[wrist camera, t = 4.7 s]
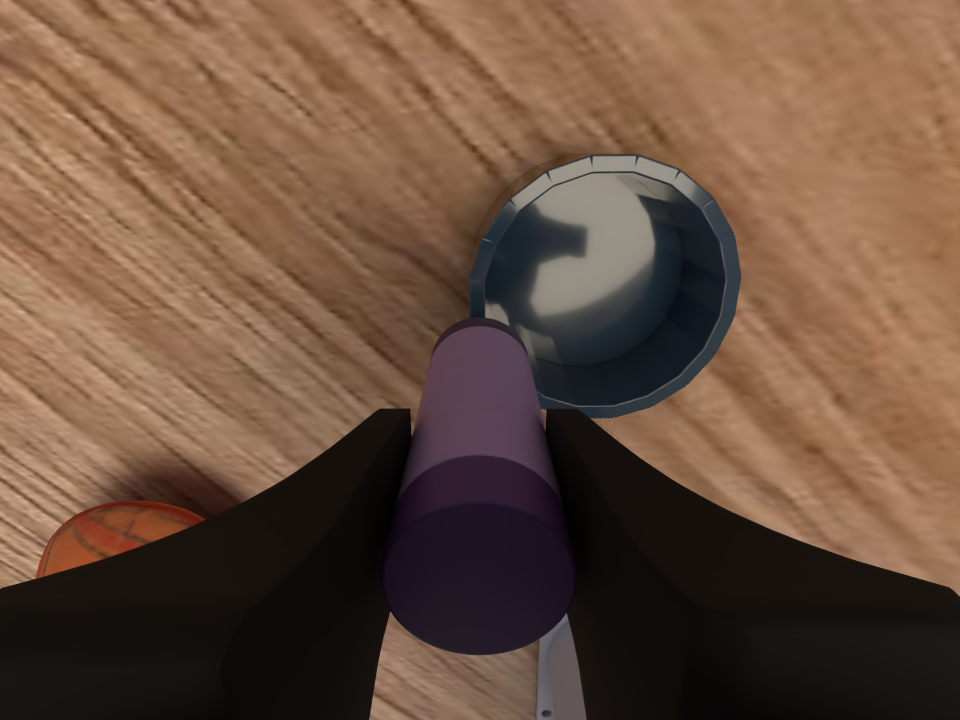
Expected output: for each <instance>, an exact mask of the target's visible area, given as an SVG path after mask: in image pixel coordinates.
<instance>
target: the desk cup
mask: <svg viewBox="0 0 960 720" xmlns="http://www.w3.org/2000/svg"><path fill="white" fill-rule="evenodd" d="M740 282H741V271H740V265H739V258H738V252H737V246H736V240H735V236H734V232H733V230H732V229H731V227H730V225H729V223H728V221H727V220H726V218H725V216H724V214H723V212H722V211H721V209H720V207H719V205H718V203H717V202H716V200H715V199H714V198H713V196H712V195H711V194H710V193H709V192H707V191H706V190H705V189H704V188H703V187H701V186H700V185H699V184H698V183H697V182H695V181H694V180H693V179H692V178H691V177H689V176H688V175H687V174H686V173H685V172H684V171H682V170H680V169H679V168H676V167H674V166H671V165H668V164H665V163H662V162H659V161H656V160H654V159H651V158H648V157H645V156H642V155H637V154H573V155H568V156H565V157H562V158H557V159H555V160H552V161H549V162H546V163H544V164H541V165H539V166H536V167H535V168H533V169H531V170H530V171H528V172H527V173H525V174H524V175H522V176H521V177H520V178H518V179H517V180H515V181H514V182H513V183H512V184H511V185H510V186H509V187H508V188H507V189H505V190H504V191H503V192H502V194H501V195H500V196H499V197H498V199H497V200H496V201H495V202H494V203H493V205H492V207H491V208H490V210H489V211H488V213H487V214H486V216H485V218H484V219H483V221H482V223H481V225H480V229H479V231H478V234H477V237H476V240H475V244H474V248H473V251H472V254H471V260H470V271H469V318H478V317H482V318H490V319H494V320H498V321H500V322H502V323H504V324H506V325H508V326H509V327H511V328H512V329H513V330H514V331H515V332H516V333H517V334H518V335H519V336H520V338H521V339H522V341H523V343H524V345H525V347H526V350H527V353H528V357H529V362H530V366H531V370H532V374H533V378H534V383H535V387H536V391H537V396H538V400H539V404H540V408H541V409H544V410H547V409H578V410H580V411H581V412H583V413H584V414H585V415H586V416H588V417H589V418H613V417H619V416H622V415H626V414H629V413H633V412H636V411H640V410H643V409H646V408H650V407H651V406H654V405H656V404H658V403H659V402H661V401H663V400H664V399H666V398H667V397H669V396H671V395H672V394H674V393H676V392H677V391H679V390H680V389H682V388H684V387H685V386H686V385H688V384H689V383H690V382H691V381H692V380H693V379H694V377H695V376H696V375H697V374H698V373H699V372H700V371H701V370H702V369H703V368H704V367H705V366H706V365H707V363H708V362H709V361H710V360H711V359H712V358H713V357H714V354H716V353H717V351H718V349H719V347H720V345H721V343H722V341H723V339H724V337H725V335H726V333H727V331H728V329H729V327H730V325H731V323H732V321H733V319H734V318H733V317H734V316H735V311H736V305H737V299H738V294H739V288H740Z"/></svg>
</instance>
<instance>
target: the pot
mask: <svg viewBox="0 0 960 720" xmlns="http://www.w3.org/2000/svg"><path fill="white" fill-rule="evenodd" d="M204 520H206V519H204V518H203V517H201V516H199V515H197V514H195V513H193V512H191V511H189V510H187V509H184V508H181V507H177V506H173V505H169V504H164V503H159V502H153V501H122V502H113V503H107V504H103V505H100V506H96V507H93V508H90V509H88V510H86V511H83V512H81V513H79V514H77V515H75V516H74V517H72V518H71V519H69V520H68V521H67V522H66V523H64V524H63V525H62V526H61V527H60V528H59V529H58V530H57V531H56V532H55V533H54V535H53V536H52V537H51V539H50V540H49V542H48V544H47V546H46V548H45V550H44V553H43V555H42V558H41V560H40V563H39V566H38V570H37V575H36V579H37V578H40V577H44V576H47V575H50V574H54V573H57V572H61V571H64V570H68V569H71V568H75V567H78V566H81V565H85V564H88V563H92V562H95V561H98V560H101V559H104V558H107V557H110V556H114V555H117V554H120V553H122V552H125V551H128V550H131V549H134V548H136V547H139V546H142V545H145V544H148V543H151V542H153V541H156V540H158V539H161V538H164V537H166V536H169V535H171V534H174V533H176V532H179V531H181V530H184V529H186V528H189V527H191V526H193V525H195V524H197V523H200V522H202V521H204Z"/></svg>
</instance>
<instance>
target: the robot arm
mask: <svg viewBox="0 0 960 720" xmlns="http://www.w3.org/2000/svg"><path fill="white" fill-rule="evenodd" d="M546 436H547V440H548V444H549V449H550V453H551V457H552V461H553V465H554V469H555V473H556V477H557V481H558V485H559V489H560V494H561V498H562V502H563V506H564V511H565V515H566V519H567V524H568V528H569V532H570V536H571V541H572V545H573V549H574V553H575V558H576V563H577V568H578V583H577V589H576V593H575V596H574V598H573V601H572V604H571V606H570V608H569V610H568V612H567V613H566V614H565V616H564V617H563V619H562V620H561V621H560V622H559V623H558V624H557V625H556V626H555V627H554V628H553V629H552V630H551V631H550V632H549V633H547V634H546V635H545V636H543V637H542V638H540V639H539V655H538V678H537V702H536V720H960V596H959V595H958V594H956V593H955V592H954V591H953V590H952V589H951V588H949V587H946V586H942V585H939V584H935V583H932V582H928V581H925V580H922V579H918V578H915V577H911V576H908V575H904V574H901V573H897V572H894V571H890V570H887V569H883V568H880V567H876V566H873V565H869V564H866V563H862V562H859V561H856V560H853V559H850V558H846V557H844V556H841V555H838V554H835V553H832V552H829V551H827V550H824V549H821V548H818V547H815V546H812V545H810V544H807V543H804V542H801V541H799V540H796V539H794V538H791V537H789V536H786V535H783V534H781V533H778V532H776V531H773V530H771V529H769V528H766V527H764V526H762V525H760V524H757V523H755V522H753V521H751V520H748V519H746V518H744V517H742V516H739V515H737V514H735V513H733V512H731V511H729V510H727V509H725V508H723V507H721V506H719V505H717V504H715V503H713V502H711V501H709V500H707V499H705V498H704V497H702V496H700V495H698V494H696V493H695V492H693V491H691V490H689V489H687V488H685V487H684V486H682V485H680V484H679V483H677V482H675V481H674V480H672V479H670V478H669V477H667V476H666V475H664V474H663V473H661V472H660V471H658V470H657V469H655V468H654V467H652V466H651V465H649V464H648V463H646V462H645V461H644V460H642V459H641V458H639V457H638V456H637V455H635V454H634V453H633V452H631V451H630V450H629V449H627V448H626V447H625V446H623V445H622V444H621V443H620V442H618V441H617V440H616V439H614V438H613V437H612V436H611V435H609V434H608V433H607V432H606V431H605V430H603V429H602V428H601V427H600V426H598V425H597V424H596V423H595V422H594V421H592V420H591V419H590V418H589V417H588V416H586V415H585V414H584V413H583V412H581V411H580V410H578V409H547V414H546ZM411 439H412V435H411V416H410V409H379V410H377V411H376V412H374V413H373V414H372V415H371V416H369V417H368V418H367V419H366V420H364V421H363V422H362V423H361V424H360V425H358V426H357V427H356V428H355V429H353V430H352V431H351V432H350V433H348V434H347V435H346V436H344V437H343V438H342V439H341V440H339V441H338V442H337V443H336V444H334V445H333V446H332V447H330V448H329V449H328V450H326V451H325V452H324V453H322V454H321V455H319V456H318V457H316V458H315V459H313V460H312V461H311V462H309V463H308V464H306V465H305V466H303V467H302V468H301V469H299V470H298V471H296V472H295V473H293V474H292V475H290V476H289V477H287V478H285V479H284V480H282V481H280V482H279V483H277V484H275V485H274V486H272V487H270V488H268V489H267V490H265V491H263V492H261V493H259V494H258V495H256V496H254V497H252V498H250V499H249V500H247V501H245V502H243V503H241V504H239V505H237V506H235V507H232V508H230V509H228V510H226V511H224V512H221V513H219V514H217V515H215V516H213V517H211V518H208V519H206V520H204V521H202V522H200V523H197V524H195V525H193V526H191V527H189V528H186V529H184V530H181V531H179V532H176V533H174V534H171V535H169V536H166V537H164V538H161V539H158V540H156V541H153V542H151V543H148V544H145V545H142V546H139V547H136V548H134V549H131V550H128V551H125V552H122V553H120V554H117V555H114V556H110V557H107V558H104V559H101V560H98V561H95V562H92V563H88V564H85V565H81V566H78V567H75V568H71V569H68V570H64V571H61V572H57V573H54V574H50V575H47V576H44V577H40V578H37V579H33V580H30V581H26V582H23V583H19V584H15V585H11V586H7V587H4V588H1V589H0V720H369V717H370V711H371V705H372V698H373V692H374V685H375V679H376V673H377V666H378V661H379V656H380V651H381V647H382V642H383V637H384V633H385V630H386V626H387V622H388V618H389V614H390V609H389V607H388V605H387V603H386V601H385V598H384V595H383V592H382V587H381V581H380V569H381V563H382V558H383V554H384V550H385V546H386V542H387V538H388V533H389V529H390V525H391V521H392V517H393V513H394V510H395V505H396V501H397V496H398V492H399V488H400V484H401V480H402V476H403V472H404V468H405V463H406V459H407V455H408V451H409V447H410V443H411Z"/></svg>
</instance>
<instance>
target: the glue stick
mask: <svg viewBox="0 0 960 720" xmlns="http://www.w3.org/2000/svg"><path fill="white" fill-rule="evenodd" d="M380 581H381V587H382V592H383V595H384V598H385V601H386V603H387V605H388V607H389V609H390V611H391V613H392V614H393V615H394V617H395V618H396V620H397V621H398V622H399V623H400V624H401V625H402V626H403V627H404V628H405V629H406V630H407V631H409V632H410V633H411V634H412V635H414V636H415V637H417V638H419V639H420V640H422V641H423V642H426V643H428V644H430V645H432V646H434V647H437V648H440V649H442V650H446V651H450V652H454V653H460V654H466V655H492V654H499V653H505V652H509V651H513V650H516V649H519V648H522V647H524V646H527V645H529V644H531V643H533V642H535V641H537V640H538V639H540V638H542V637H543V636H545V635H546V634H547V633H549V632H550V631H551V630H552V629H553V628H554V627H555V626H556V625H557V624H558V623H559V622H560V621H561V620H562V619H563V617H564V616H565V614H566V613H567V612H568V610H569V608H570V606H571V604H572V601H573V598H574V596H575V593H576V589H577V583H578V568H577V563H576V558H575V553H574V549H573V545H572V541H571V536H570V532H569V528H568V524H567V519H566V515H565V511H564V506H563V502H562V498H561V494H560V489H559V485H558V481H557V477H556V473H555V469H554V465H553V461H552V457H551V453H550V449H549V444H548V440H547V436H546V430H545V425H544V421H543V417H542V413H541V408H540V404H539V400H538V396H537V391H536V387H535V383H534V378H533V374H532V370H531V366H530V362H529V357H528V353H527V350H526V347H525V345H524V343H523V341H522V339H521V338H520V336H519V335H518V334H517V333H516V332H515V331H514V330H513V329H512V328H511V327H509V326H508V325H506V324H504V323H502V322H500V321H498V320H494V319H490V318H482V317H478V318H469V319H465V320H462V321H460V322H458V323H455V324H454V325H452V326H451V327H449V328H448V329H447V330H446V331H445V332H444V333H443V334H442V335H441V336H440V338H439V339H438V340H437V342H436V344H435V346H434V349H433V352H432V356H431V361H430V365H429V369H428V373H427V377H426V381H425V385H424V389H423V393H422V398H421V402H420V406H419V410H418V414H417V418H416V422H415V426H414V431H413V435H412V439H411V443H410V447H409V451H408V455H407V459H406V463H405V468H404V472H403V476H402V480H401V484H400V488H399V492H398V496H397V501H396V505H395V510H394V513H393V517H392V521H391V525H390V529H389V533H388V538H387V542H386V546H385V550H384V554H383V558H382V563H381V569H380Z"/></svg>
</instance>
